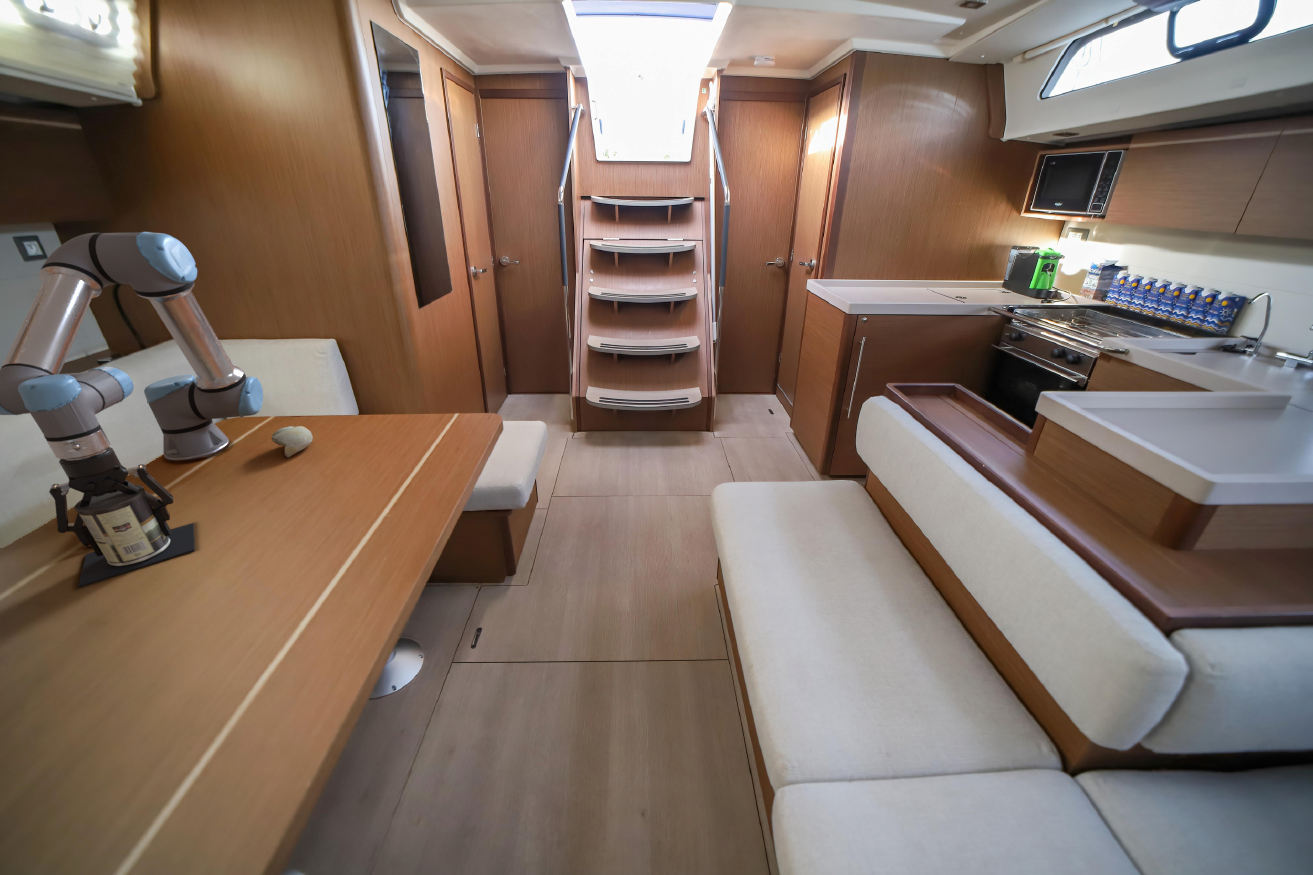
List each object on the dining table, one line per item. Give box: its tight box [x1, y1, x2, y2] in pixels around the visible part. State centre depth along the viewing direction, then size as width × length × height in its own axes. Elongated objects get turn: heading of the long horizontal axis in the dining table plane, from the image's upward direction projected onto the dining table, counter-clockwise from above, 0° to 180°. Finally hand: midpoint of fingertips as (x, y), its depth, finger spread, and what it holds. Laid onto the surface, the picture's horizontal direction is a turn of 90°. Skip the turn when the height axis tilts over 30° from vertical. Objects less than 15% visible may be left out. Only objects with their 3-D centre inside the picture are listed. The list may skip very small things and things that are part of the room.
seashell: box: [271, 425, 314, 458], centre depth 154 cm, size 13×8×10 cm
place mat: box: [77, 522, 196, 588], centre depth 110 cm, size 13×18×1 cm
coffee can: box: [73, 484, 170, 566], centre depth 107 cm, size 10×10×14 cm
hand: (135, 542), depth 109 cm, fingers closed on coffee can, 10 cm apart
